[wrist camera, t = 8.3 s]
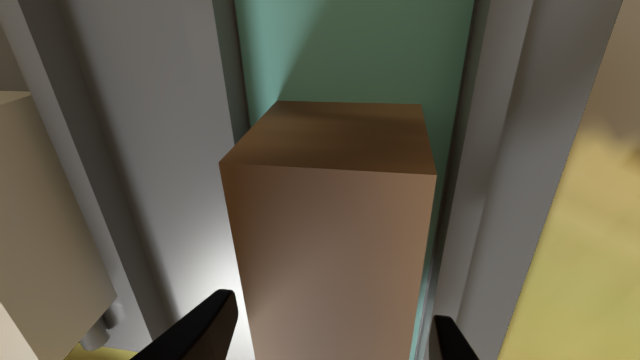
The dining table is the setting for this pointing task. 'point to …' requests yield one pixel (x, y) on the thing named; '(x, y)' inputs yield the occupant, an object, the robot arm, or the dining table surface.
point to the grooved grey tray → (304, 85)
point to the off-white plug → (44, 247)
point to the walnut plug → (331, 227)
